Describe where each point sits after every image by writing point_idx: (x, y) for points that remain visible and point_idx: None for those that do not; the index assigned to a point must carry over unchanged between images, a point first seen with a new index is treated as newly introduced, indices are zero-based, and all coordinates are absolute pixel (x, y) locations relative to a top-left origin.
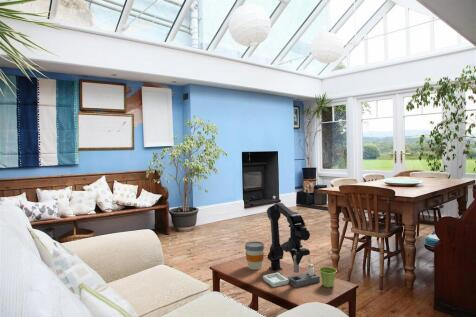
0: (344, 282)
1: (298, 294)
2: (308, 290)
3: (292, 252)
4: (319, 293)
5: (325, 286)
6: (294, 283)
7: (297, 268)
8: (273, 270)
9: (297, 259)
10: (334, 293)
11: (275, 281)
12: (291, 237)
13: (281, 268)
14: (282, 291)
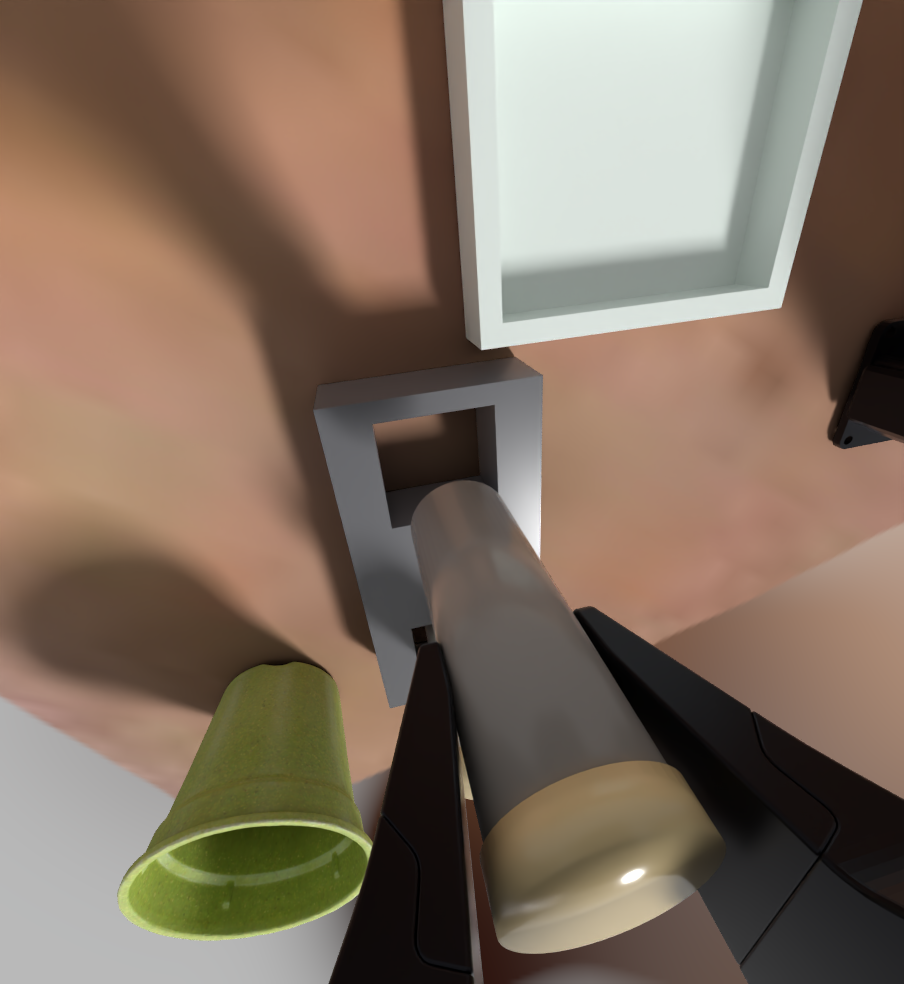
0: None
1: (47, 301)
2: (185, 492)
3: (896, 982)
4: (74, 573)
5: (243, 674)
6: (361, 389)
7: (422, 578)
8: (887, 323)
9: (379, 831)
10: (67, 695)
11: (595, 140)
12: None
13: (848, 441)
14: (208, 61)
